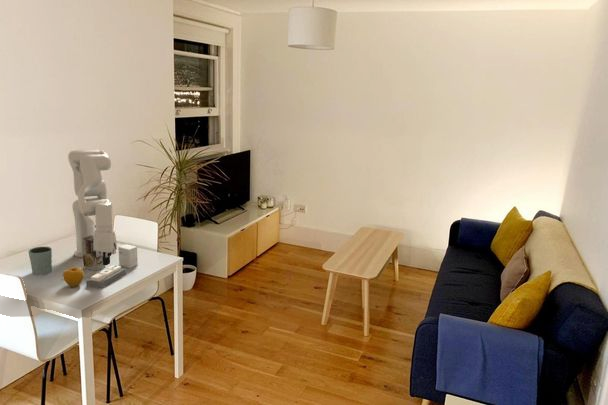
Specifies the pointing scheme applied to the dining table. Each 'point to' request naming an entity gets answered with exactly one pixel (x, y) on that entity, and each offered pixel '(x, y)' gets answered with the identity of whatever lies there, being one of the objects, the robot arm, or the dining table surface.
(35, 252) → the green cup
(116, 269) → the key
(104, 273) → the key middle
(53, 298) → the dining table surface
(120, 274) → the keypad housing
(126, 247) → the small box
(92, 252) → the coffee box
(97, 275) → the key
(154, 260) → the dining table surface
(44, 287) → the dining table surface
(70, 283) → the apple
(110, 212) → the robot arm
